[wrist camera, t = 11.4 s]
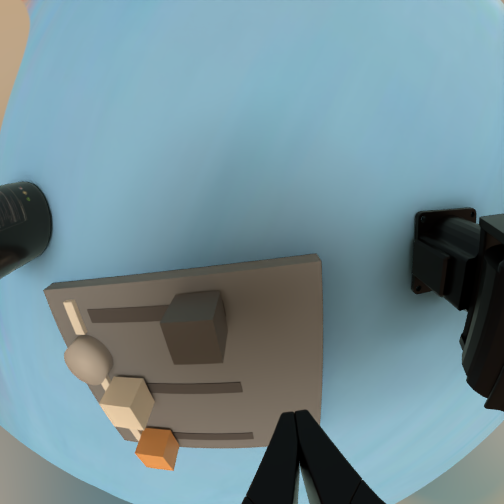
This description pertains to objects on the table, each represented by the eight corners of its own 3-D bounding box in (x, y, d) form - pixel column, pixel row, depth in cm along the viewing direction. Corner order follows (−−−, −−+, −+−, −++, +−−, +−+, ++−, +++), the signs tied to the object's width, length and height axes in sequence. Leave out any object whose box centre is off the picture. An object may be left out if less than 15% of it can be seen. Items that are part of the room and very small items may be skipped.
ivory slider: (143, 378, 20) (129, 407, 17) (154, 401, 21) (144, 430, 18) (113, 376, 20) (98, 403, 17) (126, 399, 21) (114, 426, 18)
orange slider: (170, 430, 22) (163, 457, 19) (179, 445, 23) (173, 470, 20) (143, 427, 22) (134, 453, 19) (154, 442, 23) (146, 467, 20)
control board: (316, 253, 19) (329, 273, 15) (316, 429, 25) (321, 454, 21) (52, 282, 20) (29, 300, 16) (128, 431, 26) (120, 452, 22)
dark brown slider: (220, 290, 17) (212, 319, 14) (228, 329, 18) (223, 362, 15) (175, 294, 18) (159, 323, 14) (185, 332, 18) (174, 364, 15)
